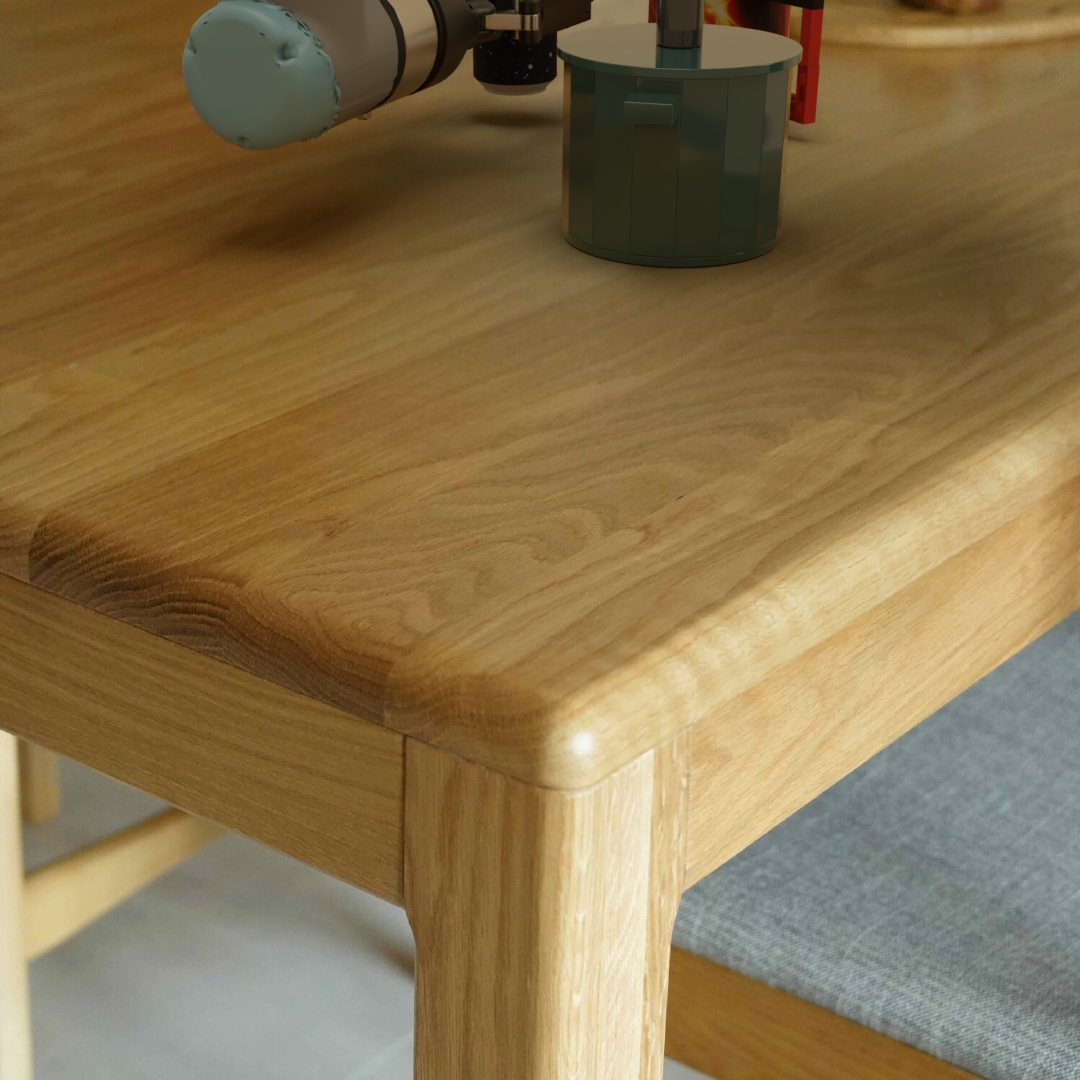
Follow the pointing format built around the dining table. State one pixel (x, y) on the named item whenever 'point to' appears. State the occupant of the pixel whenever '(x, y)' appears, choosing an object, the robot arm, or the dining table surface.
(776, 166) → the pot
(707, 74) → the pot lid
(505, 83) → the beverage can
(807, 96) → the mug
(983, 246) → the dining table surface
